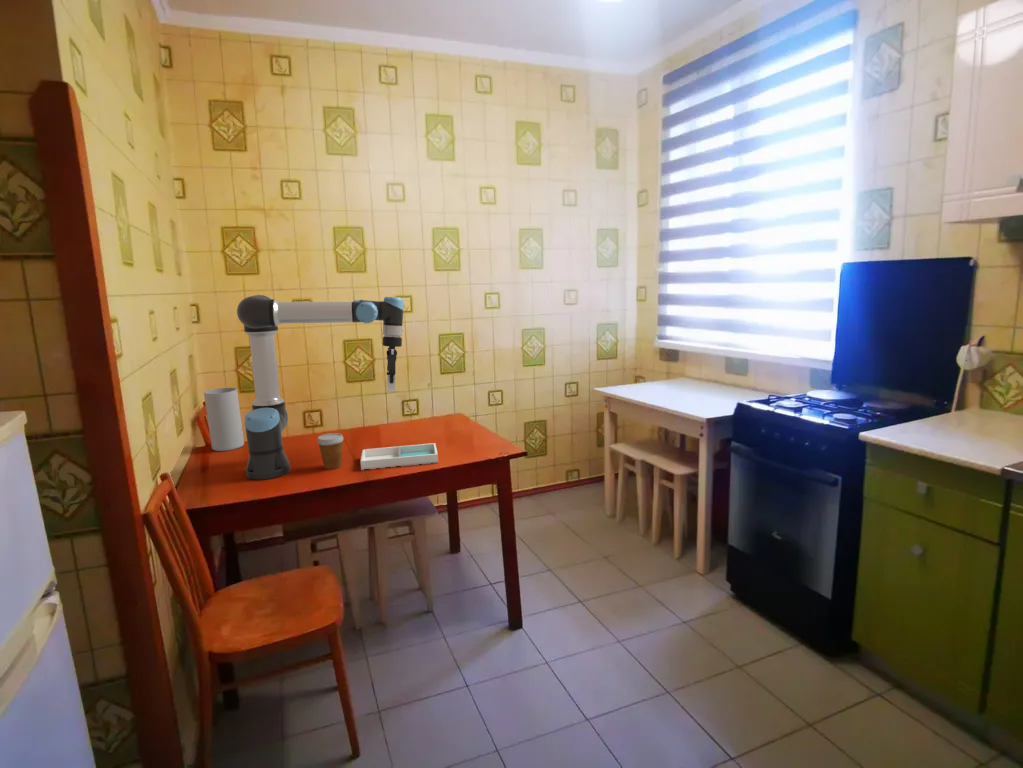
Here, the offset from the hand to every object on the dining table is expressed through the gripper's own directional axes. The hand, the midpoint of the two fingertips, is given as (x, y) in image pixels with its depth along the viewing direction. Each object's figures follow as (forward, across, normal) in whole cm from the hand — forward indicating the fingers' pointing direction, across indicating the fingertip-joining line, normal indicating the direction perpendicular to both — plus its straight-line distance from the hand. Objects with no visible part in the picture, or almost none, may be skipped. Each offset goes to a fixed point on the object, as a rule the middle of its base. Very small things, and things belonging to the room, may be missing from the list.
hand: (390, 389), depth 224 cm
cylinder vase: (+32, +32, +66) cm, 80 cm away
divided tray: (+26, -12, -4) cm, 29 cm away
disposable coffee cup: (+29, -11, +20) cm, 37 cm away
